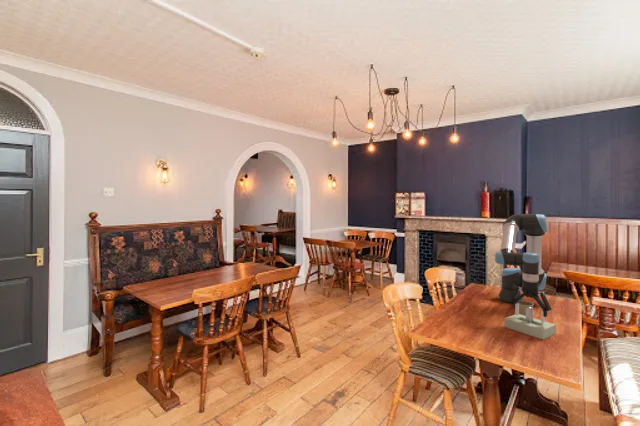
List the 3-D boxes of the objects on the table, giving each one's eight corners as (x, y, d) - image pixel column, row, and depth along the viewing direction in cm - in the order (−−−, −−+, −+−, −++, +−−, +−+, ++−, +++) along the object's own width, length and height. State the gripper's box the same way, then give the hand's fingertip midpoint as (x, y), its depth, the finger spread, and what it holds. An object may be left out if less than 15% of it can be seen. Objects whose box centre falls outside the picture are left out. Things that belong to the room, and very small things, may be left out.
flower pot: (513, 316, 198) (514, 303, 198) (517, 312, 205) (517, 299, 205) (531, 320, 192) (531, 306, 192) (534, 316, 199) (534, 302, 198)
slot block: (517, 321, 191) (517, 313, 190) (555, 333, 174) (556, 324, 173) (504, 326, 183) (504, 318, 183) (543, 339, 166) (543, 330, 166)
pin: (527, 326, 181) (527, 305, 181) (534, 328, 178) (534, 307, 177) (524, 327, 179) (524, 306, 179) (531, 330, 176) (531, 308, 176)
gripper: (504, 277, 186) (503, 312, 187) (552, 286, 165) (551, 327, 166) (511, 275, 190) (510, 310, 191) (559, 284, 169) (558, 324, 170)
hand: (529, 318), depth 178 cm, fingers open, 13 cm apart
